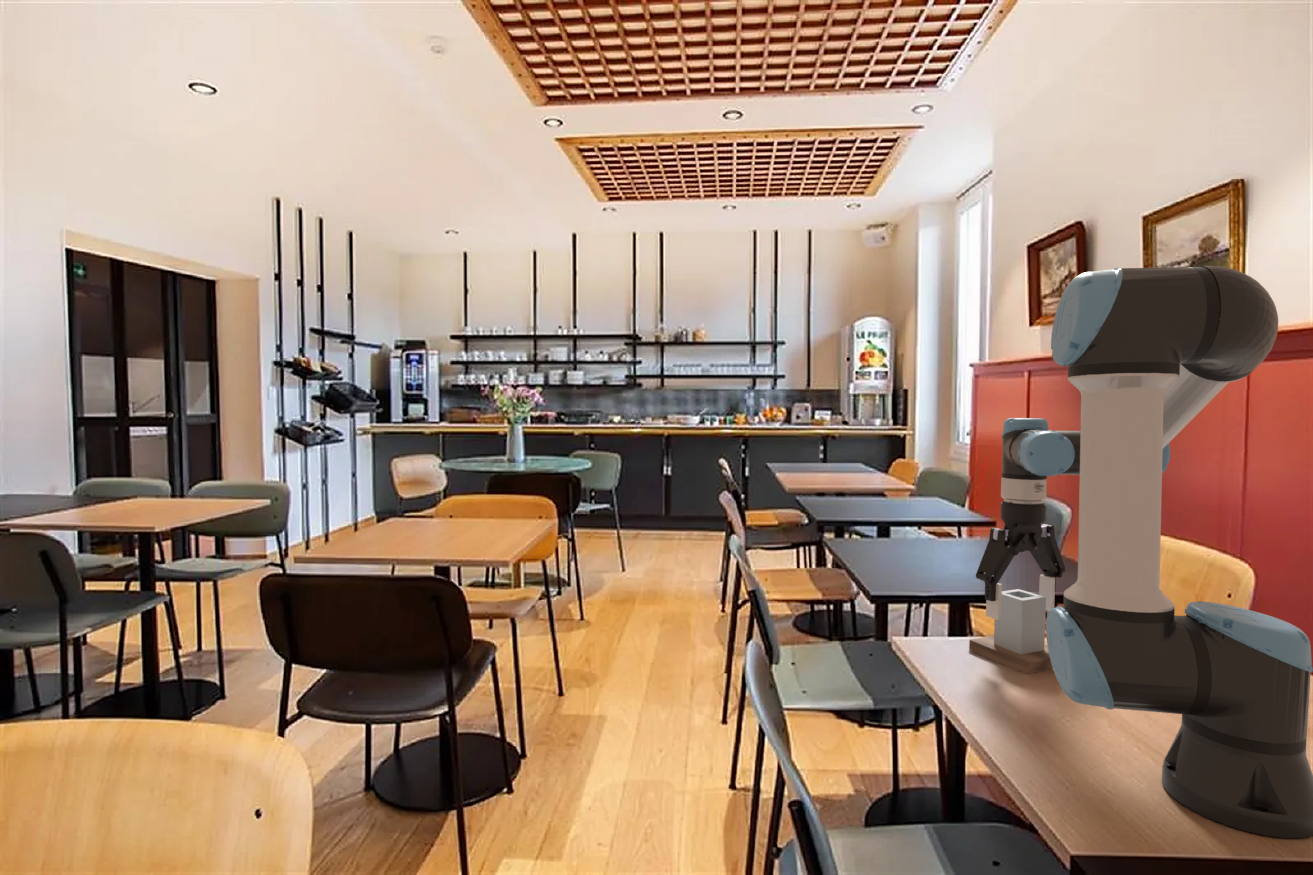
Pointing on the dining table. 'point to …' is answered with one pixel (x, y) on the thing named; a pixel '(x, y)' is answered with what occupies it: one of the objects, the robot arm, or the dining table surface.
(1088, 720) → the dining table surface
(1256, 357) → the robot arm
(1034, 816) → the dining table surface
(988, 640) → the wooden peg base
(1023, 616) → the light grey hollow box
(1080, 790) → the dining table surface
